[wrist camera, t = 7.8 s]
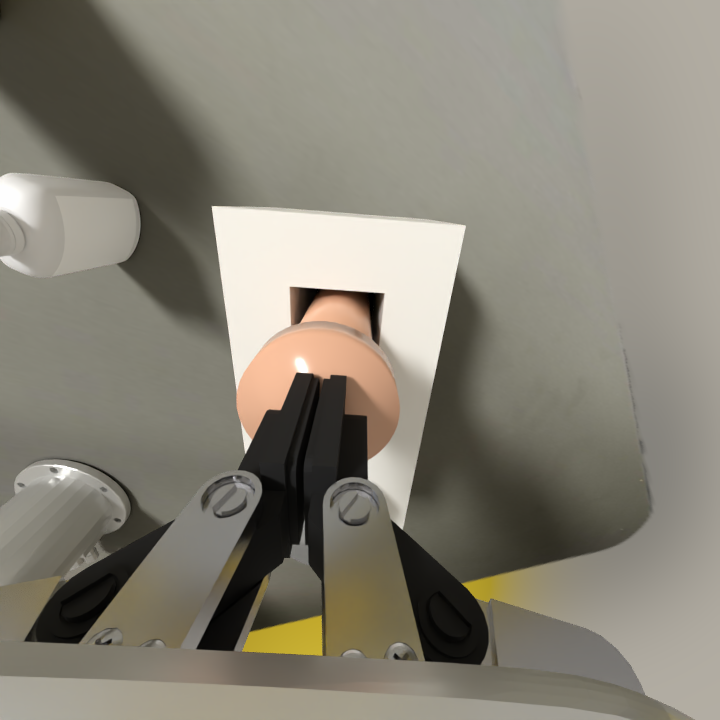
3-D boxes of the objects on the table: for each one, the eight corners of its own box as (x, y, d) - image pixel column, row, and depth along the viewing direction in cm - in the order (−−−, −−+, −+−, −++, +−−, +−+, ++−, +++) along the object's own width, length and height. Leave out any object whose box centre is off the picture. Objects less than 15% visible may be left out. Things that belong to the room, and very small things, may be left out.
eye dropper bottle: (164, 227, 24) (0, 242, 13) (120, 268, 25) (-61, 312, 14) (117, 173, 22) (-115, 139, 11) (72, 220, 24) (-170, 229, 13)
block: (390, 452, 34) (400, 539, 25) (284, 446, 34) (255, 531, 25) (426, 219, 23) (465, 225, 14) (270, 207, 23) (211, 206, 14)
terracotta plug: (376, 337, 24) (390, 475, 12) (306, 333, 24) (245, 467, 12) (383, 266, 22) (411, 343, 9) (305, 260, 22) (226, 331, 9)
